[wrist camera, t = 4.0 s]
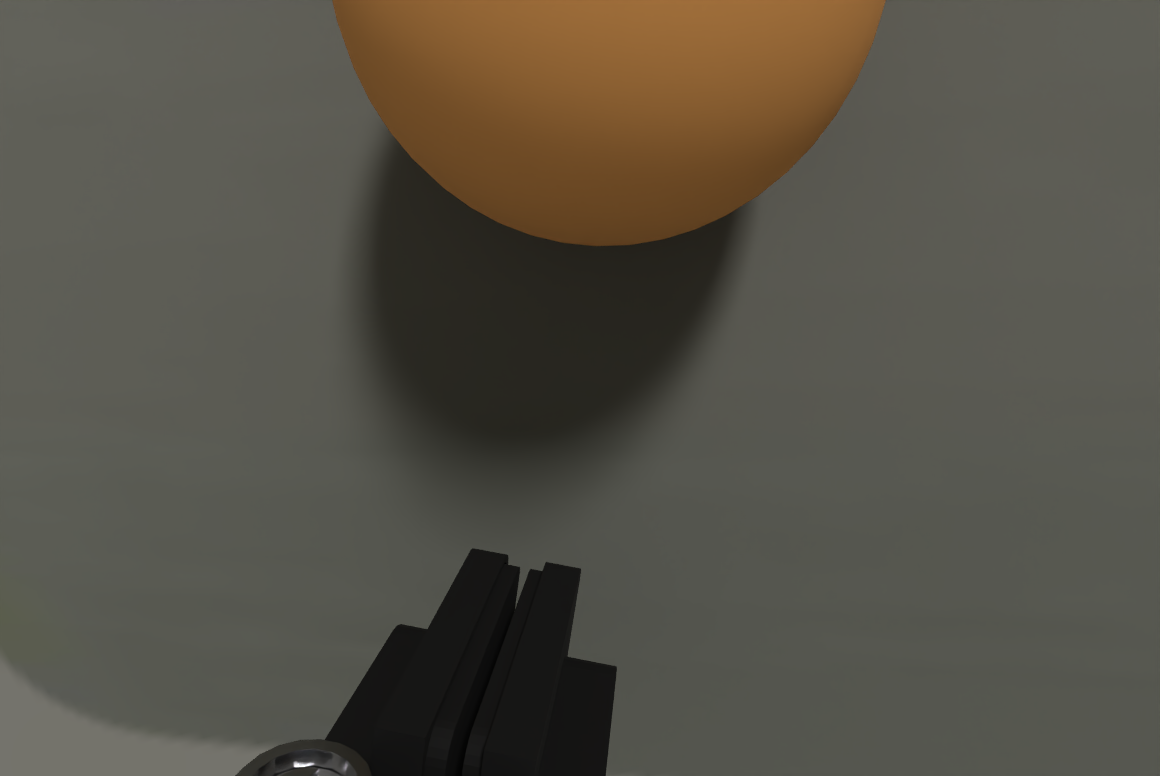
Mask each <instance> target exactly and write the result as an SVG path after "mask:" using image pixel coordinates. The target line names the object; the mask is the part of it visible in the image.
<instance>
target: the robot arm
mask: <svg viewBox="0 0 1160 776" xmlns="http://www.w3.org/2000/svg"><path fill="white" fill-rule="evenodd" d="M519 574H520V567H517V566H512V565H508V555H505V554H500V553H495V552H489V551H484V550H479V549H472V550H471V551H470V553H469V554H468V556H467V558H466V560H465V562H464V563H463V565H462V567H461V569H460V571H459V573H458V574H457V576H456V578H455V580H454V582H453V584H452V585H451V587H450V589H449V591H448V593H447V595H446V596H445V598H444V600H443V602H442V604H441V606H440V607H439V609H438V611H437V613H436V615H435V616H434V618H433V620H432V622H431V624H430V626H429V627H428V629H423V628H418V627H412V626H407V625H402V624H400V625H397V626H396V628H395V629H394V630H393V631H392V633H391V635H390V636H389V638H388V639H387V641H386V643H385V644H384V646H383V647H382V649H381V651H380V652H379V654H378V655H377V657H376V659H375V660H374V662H373V663H372V665H371V667H370V668H369V670H368V671H367V673H366V675H365V676H364V678H363V679H362V681H361V683H360V684H359V686H358V687H357V689H356V691H355V692H354V694H353V695H352V697H351V699H350V700H349V702H348V703H347V705H346V707H345V708H344V710H343V711H342V713H341V715H340V716H339V718H338V719H337V721H336V723H335V724H334V726H333V728H332V729H331V731H330V732H329V734H328V736H327V737H326V739H325V740H322V739H316V740H298V741H294V742H290V743H286V744H282V745H279V746H276V747H274V748H272V749H270V750H268V751H266V752H264V753H262V754H260V755H258V756H257V757H256V758H255V759H253V760H252V761H251V762H250V763H248V764H247V765H246V766H245V767H244V768H242V769H241V771H240V772H239V773H238V774H237V775H236V776H606V766H607V757H608V747H609V738H610V728H611V719H612V710H613V700H614V691H615V681H616V671H617V667H616V666H611V665H606V664H601V663H596V662H591V661H586V660H581V659H576V658H571V657H567V655H568V649H569V643H570V636H571V630H572V624H573V618H574V612H575V606H576V599H577V593H578V587H579V581H580V574H581V569H580V568H575V567H570V566H564V565H559V564H553V563H548V562H546V563H545V566H544V569H543V571H538V570H533V569H530V571H529V573H528V576H527V579H526V581H525V584H524V587H523V590H522V592H521V595H520V598H519V601H518V603H517V606H516V609H515V604H516V596H517V589H518V582H519ZM514 611H515V612H514Z"/></svg>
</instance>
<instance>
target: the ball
mask: <svg viewBox="0 0 1160 776" xmlns="http://www.w3.org/2000/svg"><path fill="white" fill-rule="evenodd" d="M885 1H886V0H333V5H334V9H335V14H336V18H337V22H338V25H339V28H340V30H341V33H342V36H343V39H344V42H345V45H346V48H347V50H348V53H349V56H350V59H351V62H352V64H353V67H354V69H355V71H356V73H357V75H358V77H359V80H360V82H361V84H362V86H363V88H364V90H365V92H366V94H367V96H368V98H369V100H370V102H371V103H372V105H373V106H374V108H375V109H376V111H377V113H378V114H379V116H380V117H381V119H382V120H383V122H384V123H385V125H386V127H387V128H388V130H389V131H390V132H391V134H392V135H393V136H394V137H395V138H396V140H397V141H398V142H399V143H400V144H401V146H402V147H403V148H404V149H405V150H406V152H407V153H408V154H409V155H410V156H411V158H412V159H413V160H414V161H415V162H416V163H417V164H419V165H420V166H421V167H422V168H423V169H424V170H425V171H426V172H427V173H428V174H429V175H430V176H431V177H432V178H433V179H435V180H436V181H437V182H438V183H439V184H440V185H441V186H442V187H443V188H444V189H446V190H447V191H448V192H450V193H451V194H453V195H454V196H455V197H457V198H458V199H460V200H461V201H462V202H464V203H465V204H466V205H468V206H469V207H471V208H472V209H474V210H476V211H478V212H480V213H482V214H483V215H485V216H487V217H489V218H491V219H493V220H494V221H496V222H498V223H500V224H503V225H505V226H508V227H511V228H513V229H516V230H518V231H521V232H524V233H526V234H529V235H532V236H536V237H540V238H544V239H549V240H553V241H557V242H561V243H569V244H579V245H589V246H614V245H633V244H639V243H645V242H651V241H657V240H663V239H666V238H669V237H673V236H676V235H679V234H682V233H686V232H689V231H692V230H695V229H697V228H700V227H702V226H704V225H706V224H708V223H711V222H713V221H715V220H717V219H719V218H722V217H724V216H726V215H727V214H729V213H731V212H732V211H734V210H736V209H737V208H739V207H740V206H742V205H744V204H745V203H747V202H749V201H750V200H752V199H753V198H755V197H757V196H758V195H759V194H761V193H762V192H763V191H764V190H766V189H767V188H768V187H769V186H770V185H772V184H773V183H774V182H775V181H777V180H778V179H779V178H780V177H782V176H783V175H784V174H785V173H787V172H788V171H789V169H790V168H791V167H792V166H793V165H794V164H795V163H796V162H797V161H798V160H799V159H800V158H801V157H802V156H803V155H804V154H805V153H806V152H807V151H808V150H809V149H810V148H811V147H812V146H813V145H814V143H815V142H816V141H817V139H818V138H819V137H820V135H821V134H822V133H823V131H824V130H825V129H826V127H827V126H828V125H829V124H830V122H831V121H832V120H833V118H834V117H835V116H836V114H837V112H838V111H839V109H840V107H841V106H842V104H843V102H844V101H845V99H846V97H847V95H848V94H849V92H850V90H851V89H852V87H853V85H854V84H855V82H856V80H857V78H858V76H859V73H860V71H861V69H862V66H863V64H864V62H865V60H866V57H867V55H868V53H869V50H870V48H871V46H872V44H873V41H874V37H875V34H876V31H877V27H878V24H879V21H880V17H881V14H882V11H883V8H884V4H885Z"/></svg>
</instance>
